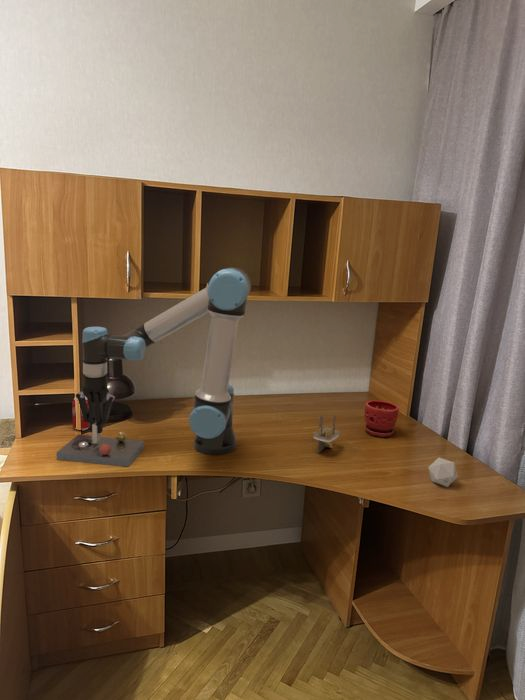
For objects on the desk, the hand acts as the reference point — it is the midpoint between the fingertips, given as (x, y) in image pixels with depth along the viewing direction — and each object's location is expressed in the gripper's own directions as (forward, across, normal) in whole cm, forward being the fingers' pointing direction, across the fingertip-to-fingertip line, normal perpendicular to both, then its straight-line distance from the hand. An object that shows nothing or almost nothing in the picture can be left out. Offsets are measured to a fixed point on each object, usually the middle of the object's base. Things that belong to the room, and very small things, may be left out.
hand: (96, 441), depth 164 cm
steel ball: (+2, +4, 0) cm, 5 cm away
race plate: (+4, -2, 0) cm, 5 cm away
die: (+4, -115, -4) cm, 115 cm away
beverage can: (+4, +14, -18) cm, 24 cm away
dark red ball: (0, -5, +6) cm, 8 cm away
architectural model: (+4, -78, -20) cm, 80 cm away
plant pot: (+4, -100, -42) cm, 109 cm away
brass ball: (0, -6, -6) cm, 8 cm away
